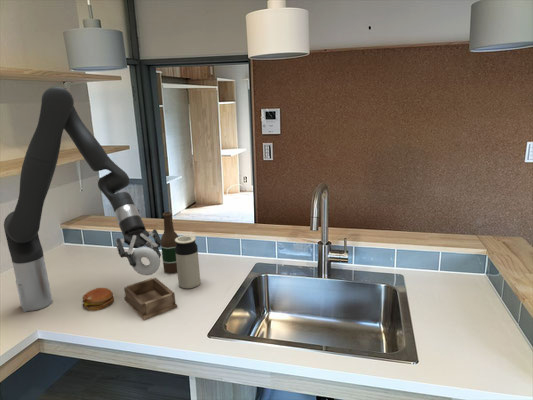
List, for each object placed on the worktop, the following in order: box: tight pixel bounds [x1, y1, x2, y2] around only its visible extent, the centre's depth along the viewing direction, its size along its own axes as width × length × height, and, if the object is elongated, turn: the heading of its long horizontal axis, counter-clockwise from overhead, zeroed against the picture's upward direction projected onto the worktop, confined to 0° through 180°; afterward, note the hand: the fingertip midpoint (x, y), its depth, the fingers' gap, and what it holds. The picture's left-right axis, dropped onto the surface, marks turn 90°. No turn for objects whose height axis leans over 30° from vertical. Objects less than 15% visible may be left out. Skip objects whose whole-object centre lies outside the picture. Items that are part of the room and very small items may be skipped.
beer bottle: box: [160, 211, 179, 275], centre depth 161 cm, size 8×8×24 cm
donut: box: [131, 246, 161, 276], centre depth 135 cm, size 10×3×10 cm, turn 82°
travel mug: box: [175, 234, 201, 289], centre depth 149 cm, size 8×8×18 cm
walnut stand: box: [123, 277, 178, 321], centre depth 138 cm, size 12×17×5 cm
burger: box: [82, 287, 115, 312], centre depth 139 cm, size 10×9×5 cm
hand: (147, 262), depth 133 cm, fingers closed on donut, 7 cm apart
